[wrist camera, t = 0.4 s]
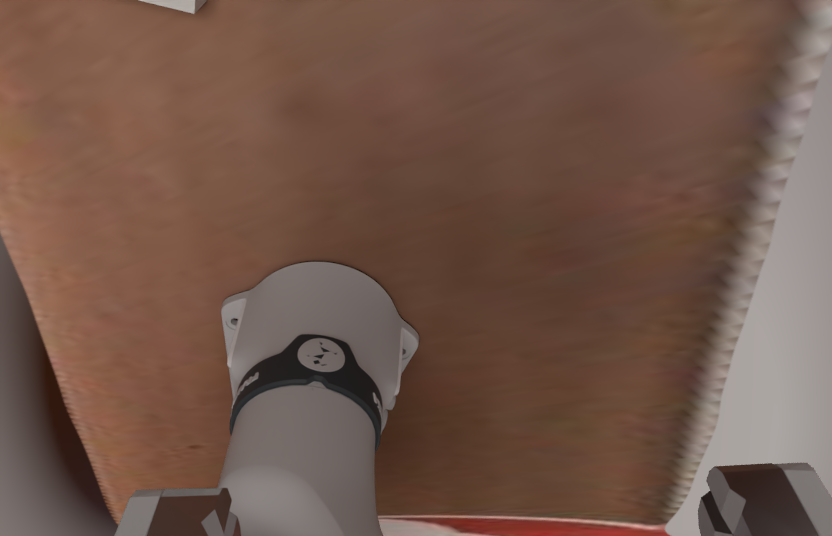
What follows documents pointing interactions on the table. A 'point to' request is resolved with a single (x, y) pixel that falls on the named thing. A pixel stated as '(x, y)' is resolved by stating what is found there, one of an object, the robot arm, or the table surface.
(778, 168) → the table surface
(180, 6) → the white divided tray
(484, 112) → the table surface
